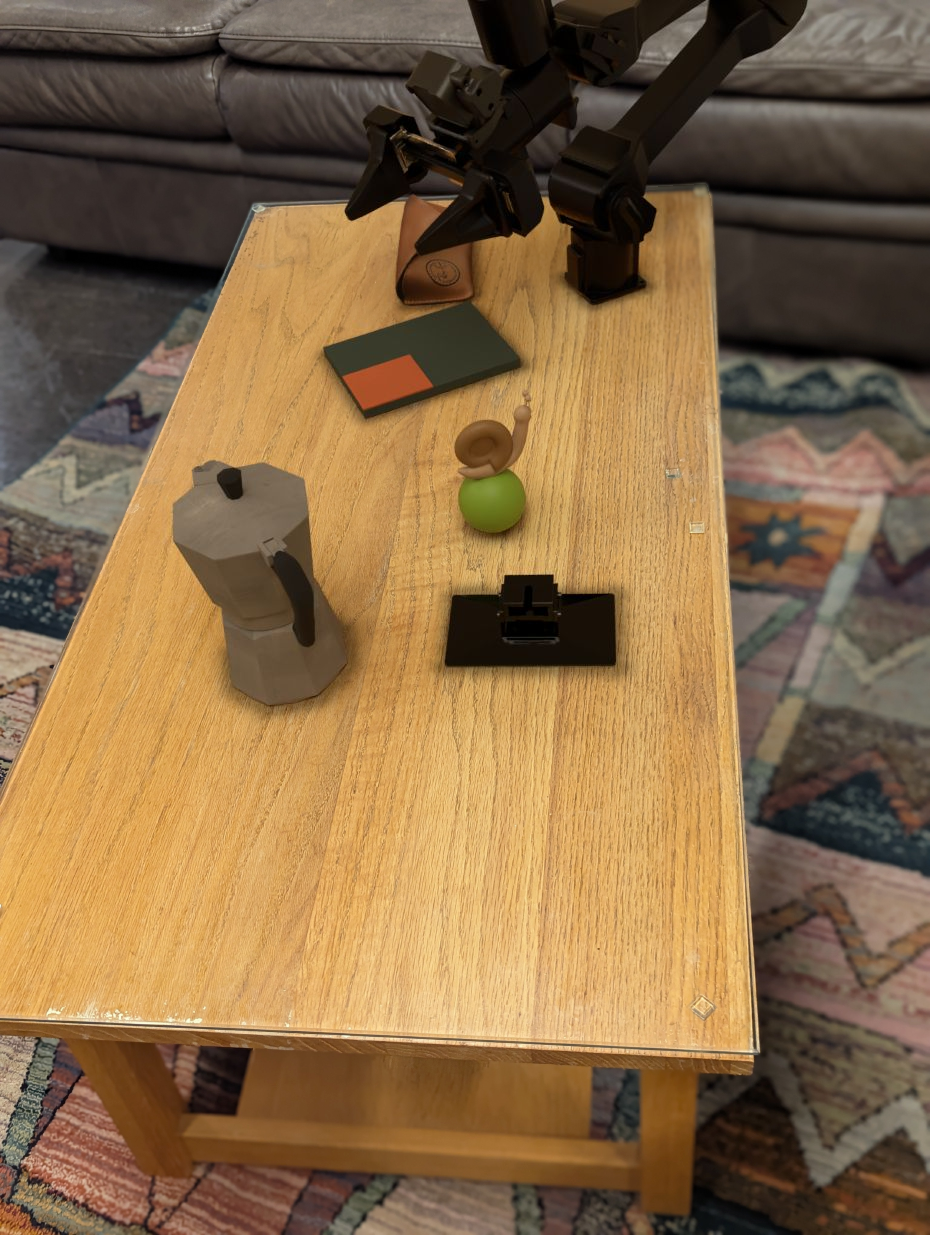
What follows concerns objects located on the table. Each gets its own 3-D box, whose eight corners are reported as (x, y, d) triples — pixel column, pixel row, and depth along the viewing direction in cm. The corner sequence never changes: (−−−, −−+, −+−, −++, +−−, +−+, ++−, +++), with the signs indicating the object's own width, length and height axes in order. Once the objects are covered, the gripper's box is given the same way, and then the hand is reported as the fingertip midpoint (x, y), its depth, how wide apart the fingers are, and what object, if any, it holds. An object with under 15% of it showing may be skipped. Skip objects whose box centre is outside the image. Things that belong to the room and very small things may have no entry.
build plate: (444, 668, 79) (437, 625, 75) (453, 596, 84) (446, 553, 80) (616, 667, 77) (616, 623, 74) (614, 593, 82) (614, 549, 79)
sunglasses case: (478, 295, 112) (439, 247, 108) (424, 330, 115) (385, 284, 111) (477, 212, 124) (442, 166, 120) (428, 246, 127) (393, 202, 123)
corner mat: (470, 309, 111) (469, 299, 110) (520, 366, 103) (520, 356, 102) (324, 355, 108) (322, 345, 107) (365, 419, 100) (363, 408, 99)
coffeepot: (196, 635, 83) (120, 451, 70) (304, 581, 86) (250, 395, 73) (285, 768, 74) (217, 585, 61) (402, 702, 77) (361, 514, 64)
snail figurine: (547, 533, 87) (542, 412, 78) (472, 553, 86) (457, 433, 78) (526, 492, 91) (519, 372, 82) (453, 511, 90) (438, 392, 81)
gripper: (406, 2, 90) (272, 119, 87) (566, 50, 80) (421, 185, 77) (448, 118, 99) (328, 228, 96) (596, 175, 89) (467, 299, 86)
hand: (381, 233), depth 89 cm, fingers open, 9 cm apart
